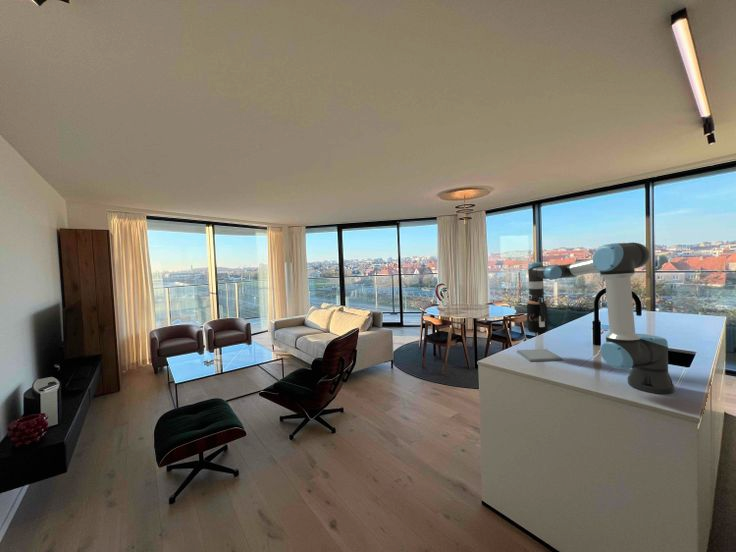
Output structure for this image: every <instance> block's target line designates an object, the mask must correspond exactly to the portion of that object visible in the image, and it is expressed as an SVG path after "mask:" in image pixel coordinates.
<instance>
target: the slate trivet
mask: <svg viewBox="0 0 736 552" xmlns="http://www.w3.org/2000/svg"><path fill="white" fill-rule="evenodd" d="M516 353H517V354H519V356H521V357H523V358H524V359H525V360H527V361H529V362H530V363H533V361H535V362H553V361H554V360H561V361H563V358H562V357H560V355H557V354H555V353H553V352H552V351H550V350H549V349H547V348H544V349H543V348H542V349H541V348H540V349H539V348H537V349H518V350H516ZM554 362H555V361H554Z"/></svg>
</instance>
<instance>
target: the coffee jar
mask: <svg viewBox="0 0 736 552" xmlns="http://www.w3.org/2000/svg"><path fill="white" fill-rule="evenodd" d="M544 303H545V308H546V313H547V315H545V316H544V318H545V327H539V315H540V314H539V309H540V305H539V302H534V301H531V300H530V301H529V300H526V325H527V328H526V329H527V330H528V332H530V333H533V334H534V333H535V334H544V333H547V332H548V328H549V325H548V306H547V303H548V301H546V300H544Z"/></svg>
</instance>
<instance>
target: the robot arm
mask: <svg viewBox="0 0 736 552" xmlns="http://www.w3.org/2000/svg"><path fill="white" fill-rule="evenodd" d="M650 258H651V254H650V250H649V249H648V248H647V246H646V245H644V244H641V243H640V242H619V243H618V242H616V243H607V244H604V245H600V246H599V247H598V248H596V250H595V251H594V253H593V255H592V257H591V258H588V259H584V260H583V259H582V260H579V261H575V262H572V263H567V264H556V265H543V262H539V261H538V262H529V263H528V265H527V267H528V268H527V273H528V288H529V289H528V294H529V295H528V301H530V300H531V301H534V302H539V305H540V309H539V314H540V315H539V327H545V318H544V316H545V315H547V316H548V312H547V313H546V308H545V303H544V301H545V298H544V297H542V296H543V295H544V280H549V281H550V280H551V281H552V280H558V279H568V278H575V277H579V276H583V275H584V276H585V275H589V274H593V273H595V274H596V273H598V272H599V273H600V274H599V275H600V277H602V278H603V279H604V282H605V283H604V284H605V295H606V304H607V305H606V306H607V317H608V328H609V332H608V333H607V334H606V335H605V342H604V343H602V345H600V348H599V351H600V355H601V357H602V359H603V361H604V362H606V364H607V365H609V366H610V367H611V368H614V369H618V370H629V369H631V370H630V371H629V374H628V376H627V384H628V385H629V386H630V387H632V388H634V389H637V390H639V391H643V392H647V393H652V394H653V393H654V394H658V395H659V394H663V395H665V394H667V395H668V394H673V393H674V392H675V385H674V383H673V380H672V378H671V375H670V374H669V344H668V340H667V339H666V338H664V337H661V336H658V335H653V334H645V333H636V327H635V325H636V324H635V317H634V315H635V314H634V304H633V293H632V292H633V291H632V277H633V275H635V273H636V272H635V271H636V270H635V269H639V268H641V267H643V266H645V265H646V264H647V263H648V262H649V261H650Z"/></svg>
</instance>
